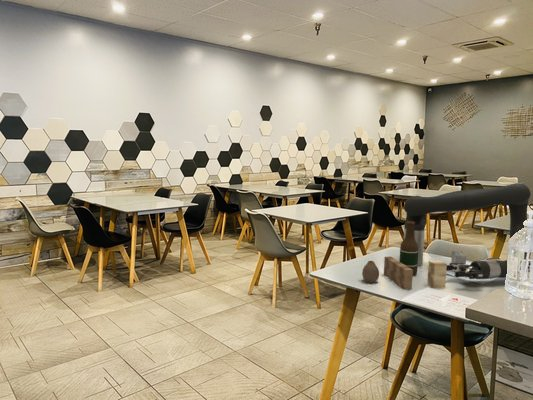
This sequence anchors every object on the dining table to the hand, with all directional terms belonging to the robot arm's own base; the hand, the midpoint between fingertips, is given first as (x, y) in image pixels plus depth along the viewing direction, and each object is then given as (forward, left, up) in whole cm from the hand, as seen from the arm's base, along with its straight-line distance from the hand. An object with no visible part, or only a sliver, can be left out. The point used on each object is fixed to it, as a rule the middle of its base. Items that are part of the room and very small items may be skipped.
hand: (449, 271), depth 168 cm
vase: (-9, -30, -6) cm, 32 cm away
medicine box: (-18, +16, -6) cm, 24 cm away
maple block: (0, -5, -6) cm, 8 cm away
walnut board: (-8, -19, -6) cm, 21 cm away
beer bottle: (-17, -9, -6) cm, 20 cm away
